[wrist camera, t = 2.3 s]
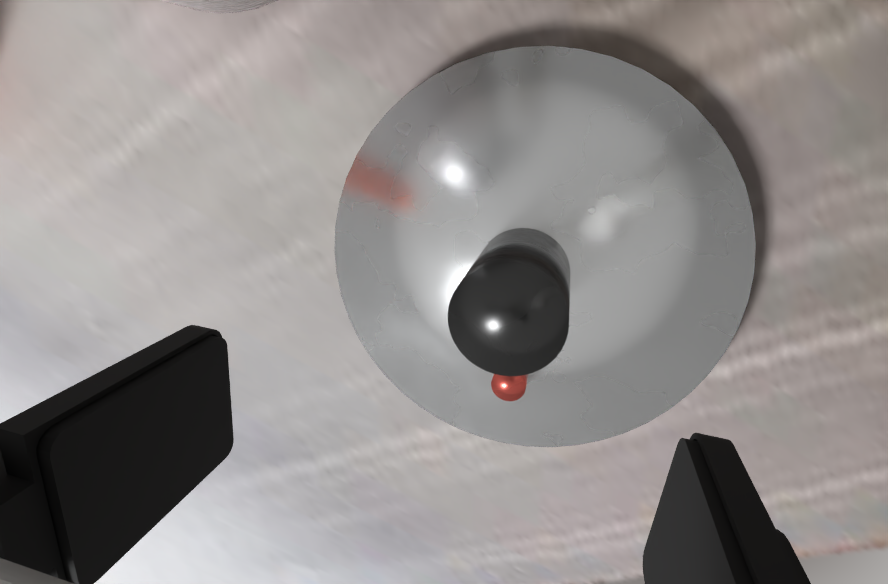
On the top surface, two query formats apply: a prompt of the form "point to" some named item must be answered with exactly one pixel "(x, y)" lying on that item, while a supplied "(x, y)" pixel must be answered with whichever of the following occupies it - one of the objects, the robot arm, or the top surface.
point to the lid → (545, 246)
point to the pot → (221, 5)
